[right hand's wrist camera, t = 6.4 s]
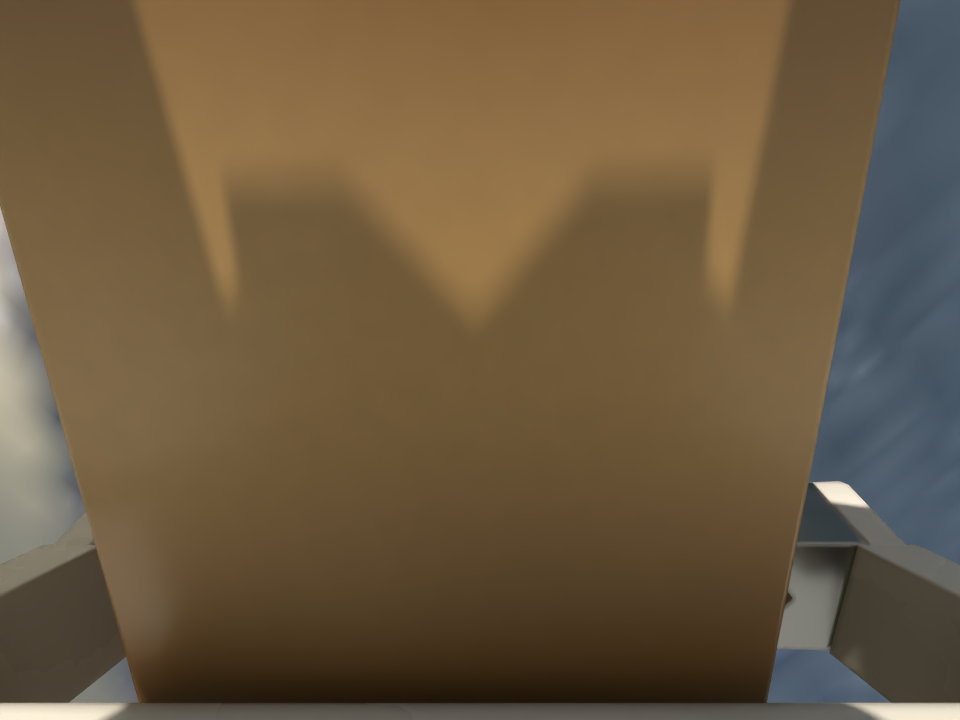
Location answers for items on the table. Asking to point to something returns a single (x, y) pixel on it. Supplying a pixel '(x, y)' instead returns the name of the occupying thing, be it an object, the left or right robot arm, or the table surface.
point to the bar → (440, 329)
